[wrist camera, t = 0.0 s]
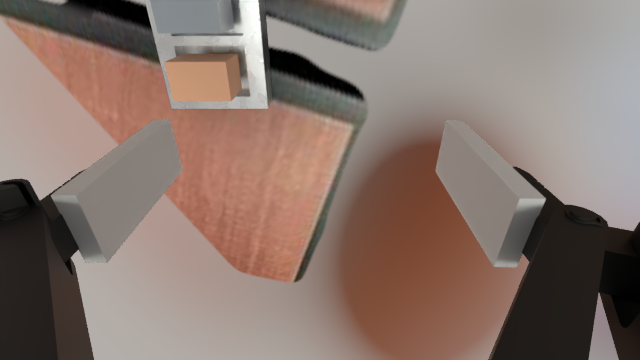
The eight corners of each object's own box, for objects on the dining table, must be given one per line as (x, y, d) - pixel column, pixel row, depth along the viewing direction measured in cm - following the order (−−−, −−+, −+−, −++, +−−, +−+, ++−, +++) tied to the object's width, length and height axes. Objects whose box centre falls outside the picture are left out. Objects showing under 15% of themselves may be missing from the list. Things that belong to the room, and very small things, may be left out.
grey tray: (135, -119, 32) (112, -132, 28) (254, -120, 32) (245, -134, 28) (184, 99, 43) (171, 108, 39) (272, 99, 43) (267, 108, 39)
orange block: (183, 53, 36) (164, 62, 32) (237, 53, 36) (225, 61, 32) (190, 89, 38) (173, 101, 34) (242, 89, 38) (231, 101, 34)
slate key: (169, -14, 33) (146, -16, 29) (229, -15, 33) (214, -16, 29) (178, 28, 35) (157, 33, 31) (234, 28, 35) (221, 33, 31)
